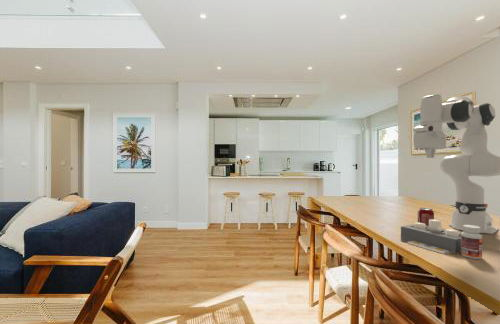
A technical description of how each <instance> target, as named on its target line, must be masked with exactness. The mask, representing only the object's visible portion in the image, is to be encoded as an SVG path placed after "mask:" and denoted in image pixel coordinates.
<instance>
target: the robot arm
mask: <svg viewBox="0 0 500 324" xmlns="http://www.w3.org/2000/svg"><path fill="white" fill-rule="evenodd" d="M419 115H420V121H419V125H417V126H415V127H413V129H412V131H413V146H414V148H415V149H424V152H425V154H426V158H427V159H434V158H435V154H436V151H437V150H443V149H444V150H445V149H446V147H447V137H446V134H445V133H444V131H443V124H446V125H447V127H448V128H449V129H450V130H452V131H460V130H461V129H465V131H464V132H463V135H462V137H461V142H460V147H459V151H460V153H461V154H455V155H449V156H448V155H447V156H444V157H443V158H442V159H441V161H440V165H439V167H440V170H441V172H443V173H444V175H446V176H448V177H449V178H450V179H451V180H452V182H453V183H454V185H455V192H456V201H455V204H454V207H455V209H454V210H453V211H452V214H451V215H452V216H451V222H449V224H448V226H450V227H452V228H453V229H454V230H457V231H462V232H464V230H463V225H474V226H478V227H480V228H481V232H480V233H479V234H489V235H493V234H494V233H496V232H497V231H499V227H497V226H493V217H492V216H491V215H490V214H489V213H488V212H487V208H488V207H489V204H488V203H485V189H484V187H483V186H482V185H481V184H478V183H477V182H476V183H475V182H473V181H472V180H471V179H470V178H469V177H482V178H483V177H487V178H489V177H495V176H496V177H497V176H500V156H498V155H495V154H494V153H492V152H490V151H489V150H488V133H487V129H486V127H485V126H490V125H491V123H492V122H493V121H494V119H495V117H496V109H495V107H493V105H492V104H491V103H487V102H485V103H480V104H476V105H474V102H473V101H472V99H470V98H469V97H467V96H464V95H460V96H459V95H458V96H454V97H451V98H448V99H447V100H446V101H445V102H444V103H443V100H442V96H441V94H431V95H426V96H423V97H422V98H421V100H420V107H419Z"/></svg>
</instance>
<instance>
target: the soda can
mask: <svg viewBox="0 0 500 324" xmlns="http://www.w3.org/2000/svg"><path fill="white" fill-rule="evenodd" d="M430 219H433V220H435V212H434V211H433V208H429V207H419V209H418V210H417V222H418V223H424V224H425V225H427V226H429V220H430Z"/></svg>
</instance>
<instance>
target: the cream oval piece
mask: <svg viewBox="0 0 500 324" xmlns="http://www.w3.org/2000/svg"><path fill="white" fill-rule="evenodd" d="M413 224H414V227H415V228H419V229H425V224H424V223H418V221H417V222H413Z"/></svg>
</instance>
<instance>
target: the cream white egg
mask: <svg viewBox="0 0 500 324" xmlns="http://www.w3.org/2000/svg"><path fill="white" fill-rule="evenodd" d="M441 229H442V220H440V219H439V220H438V219H434V220H433V219H430V220H429V231H432V232H436V233H441Z"/></svg>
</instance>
